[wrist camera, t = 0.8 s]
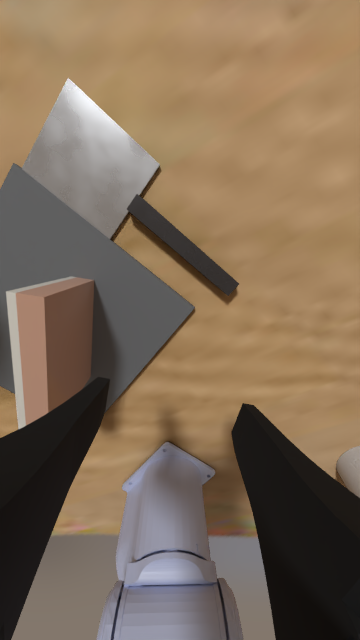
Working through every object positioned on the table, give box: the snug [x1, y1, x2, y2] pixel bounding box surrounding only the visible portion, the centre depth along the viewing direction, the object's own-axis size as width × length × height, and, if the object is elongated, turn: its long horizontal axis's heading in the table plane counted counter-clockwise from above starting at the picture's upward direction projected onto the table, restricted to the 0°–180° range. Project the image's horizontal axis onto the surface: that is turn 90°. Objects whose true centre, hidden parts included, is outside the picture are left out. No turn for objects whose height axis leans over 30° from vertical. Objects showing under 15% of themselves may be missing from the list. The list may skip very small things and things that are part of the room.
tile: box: [6, 276, 94, 429], centre depth 16 cm, size 2×10×8 cm, turn 170°
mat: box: [0, 163, 195, 412], centre depth 20 cm, size 19×18×1 cm
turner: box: [22, 78, 239, 296], centre depth 17 cm, size 19×7×1 cm, turn 51°
